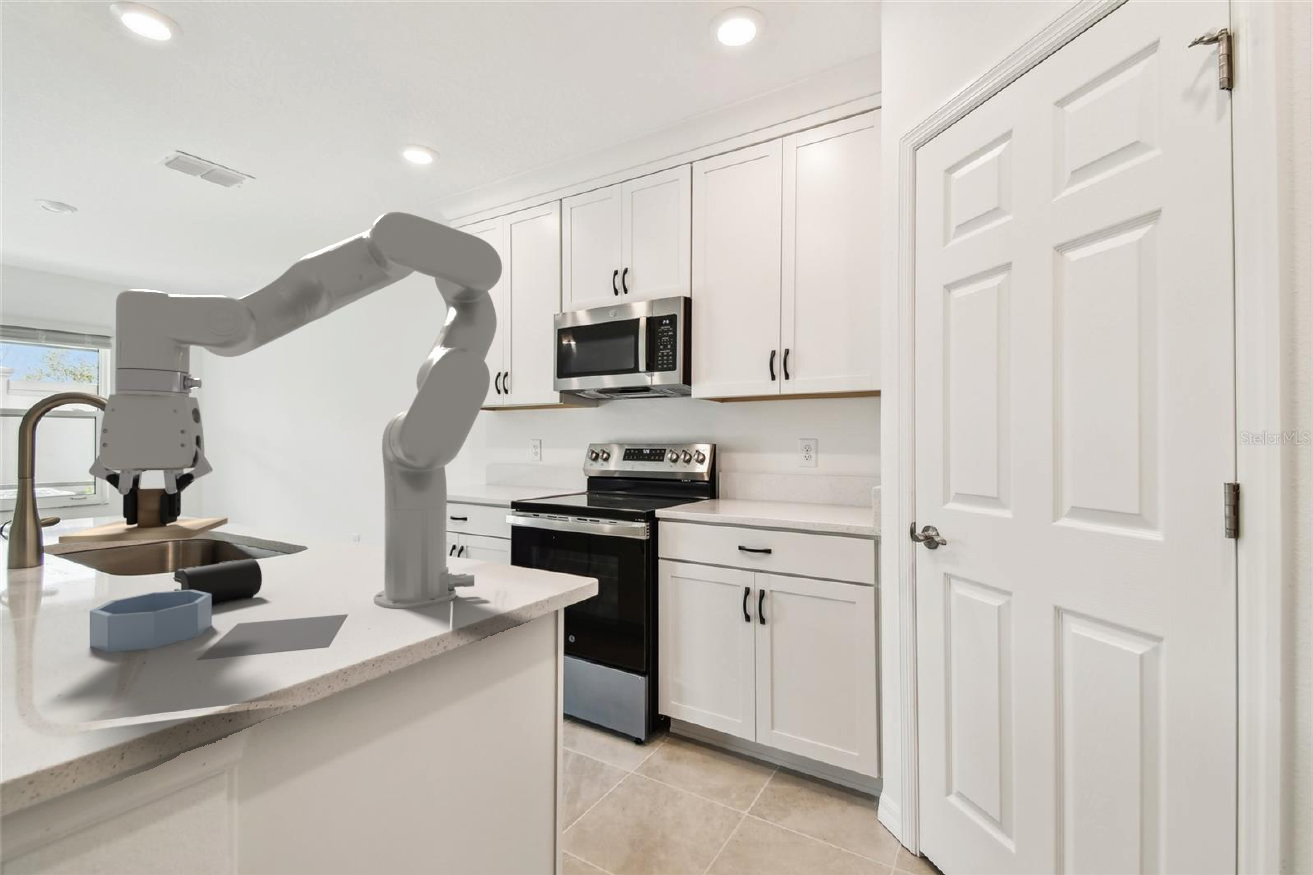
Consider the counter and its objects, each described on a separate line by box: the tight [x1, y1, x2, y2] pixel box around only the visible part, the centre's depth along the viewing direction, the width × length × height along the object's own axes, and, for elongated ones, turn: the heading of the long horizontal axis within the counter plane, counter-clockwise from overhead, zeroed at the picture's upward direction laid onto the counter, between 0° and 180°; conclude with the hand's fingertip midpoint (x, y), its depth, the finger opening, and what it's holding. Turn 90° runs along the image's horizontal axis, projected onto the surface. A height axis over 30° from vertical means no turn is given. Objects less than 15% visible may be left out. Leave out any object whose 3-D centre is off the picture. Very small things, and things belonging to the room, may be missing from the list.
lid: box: [58, 487, 229, 544], centre depth 78 cm, size 13×13×6 cm
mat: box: [196, 614, 349, 661], centre depth 79 cm, size 14×14×1 cm
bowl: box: [89, 589, 213, 653], centre depth 79 cm, size 11×11×5 cm
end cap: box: [173, 558, 263, 606], centre depth 94 cm, size 10×7×7 cm
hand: (152, 521), depth 78 cm, fingers closed on lid, 3 cm apart
